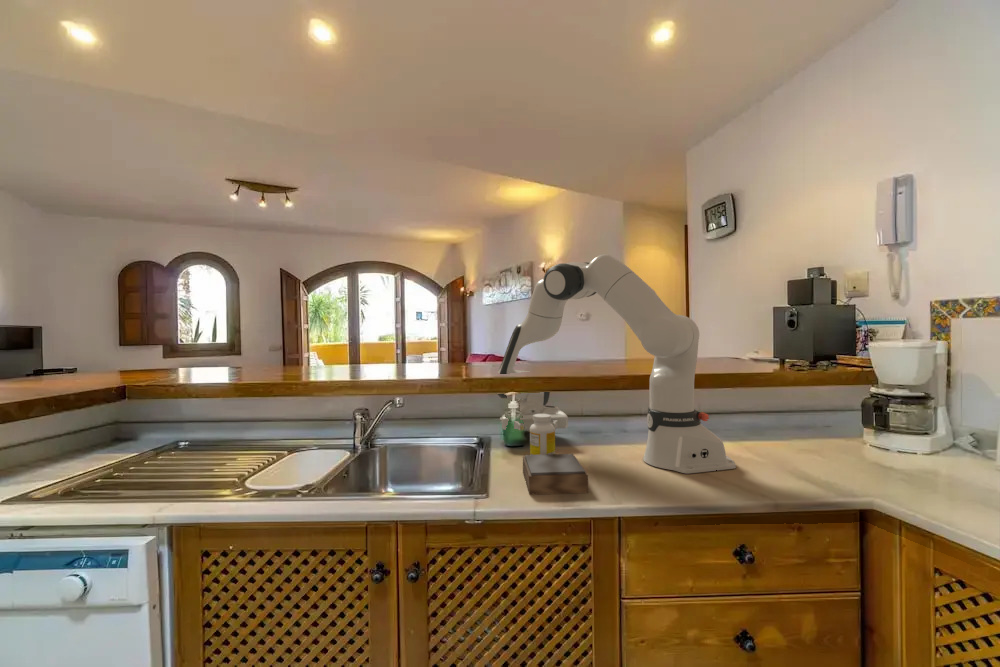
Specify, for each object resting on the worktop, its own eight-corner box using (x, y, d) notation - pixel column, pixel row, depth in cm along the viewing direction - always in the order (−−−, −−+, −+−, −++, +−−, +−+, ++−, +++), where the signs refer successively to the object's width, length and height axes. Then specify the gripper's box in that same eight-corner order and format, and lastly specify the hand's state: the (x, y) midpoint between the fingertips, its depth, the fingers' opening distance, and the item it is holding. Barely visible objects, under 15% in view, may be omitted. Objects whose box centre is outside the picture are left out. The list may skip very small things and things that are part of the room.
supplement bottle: (555, 459, 123) (554, 412, 123) (555, 467, 117) (555, 418, 116) (530, 459, 124) (530, 412, 123) (529, 467, 117) (529, 417, 117)
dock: (574, 471, 114) (574, 453, 113) (588, 492, 100) (587, 472, 99) (522, 472, 113) (522, 454, 113) (529, 494, 99) (529, 473, 99)
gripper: (499, 408, 144) (501, 417, 130) (562, 406, 145) (571, 415, 131) (499, 427, 144) (501, 439, 131) (563, 426, 145) (571, 437, 132)
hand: (537, 427), depth 131 cm, fingers open, 8 cm apart
